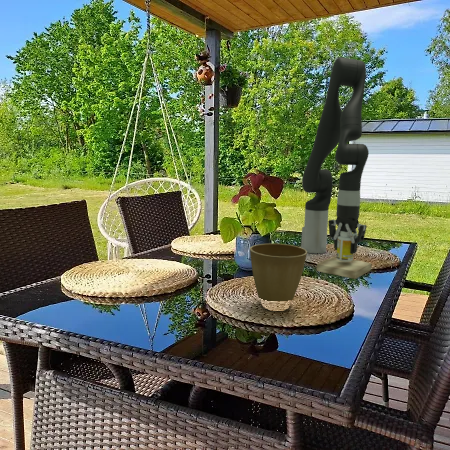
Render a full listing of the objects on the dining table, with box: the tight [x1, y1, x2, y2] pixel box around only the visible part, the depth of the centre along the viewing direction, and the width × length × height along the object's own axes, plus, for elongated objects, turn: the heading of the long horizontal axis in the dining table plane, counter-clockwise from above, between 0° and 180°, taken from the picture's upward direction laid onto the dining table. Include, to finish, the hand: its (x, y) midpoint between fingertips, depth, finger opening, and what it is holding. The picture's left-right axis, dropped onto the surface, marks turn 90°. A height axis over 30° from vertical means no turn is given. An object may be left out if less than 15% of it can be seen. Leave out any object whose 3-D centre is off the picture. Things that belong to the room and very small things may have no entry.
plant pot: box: [249, 243, 308, 301], centre depth 122 cm, size 15×15×16 cm
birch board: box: [316, 256, 373, 280], centre depth 160 cm, size 14×14×2 cm
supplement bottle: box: [336, 231, 354, 262], centre depth 159 cm, size 6×6×10 cm
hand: (345, 251), depth 159 cm, fingers open, 5 cm apart
